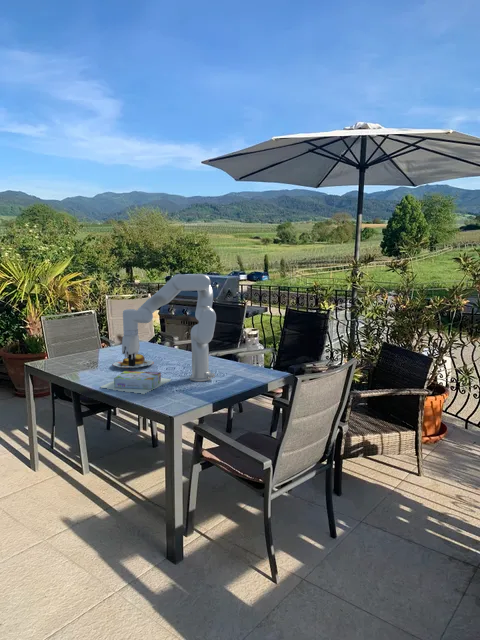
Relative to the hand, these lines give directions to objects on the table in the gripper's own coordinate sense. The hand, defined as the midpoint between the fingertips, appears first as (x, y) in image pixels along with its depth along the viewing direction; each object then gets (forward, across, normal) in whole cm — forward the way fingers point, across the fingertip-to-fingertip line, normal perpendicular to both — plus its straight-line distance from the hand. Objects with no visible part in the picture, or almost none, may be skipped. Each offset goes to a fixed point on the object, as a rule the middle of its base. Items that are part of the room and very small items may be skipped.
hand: (131, 365), depth 230 cm
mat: (+11, -4, 0) cm, 12 cm away
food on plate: (+12, -34, -24) cm, 44 cm away
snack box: (+8, -8, +1) cm, 11 cm away
